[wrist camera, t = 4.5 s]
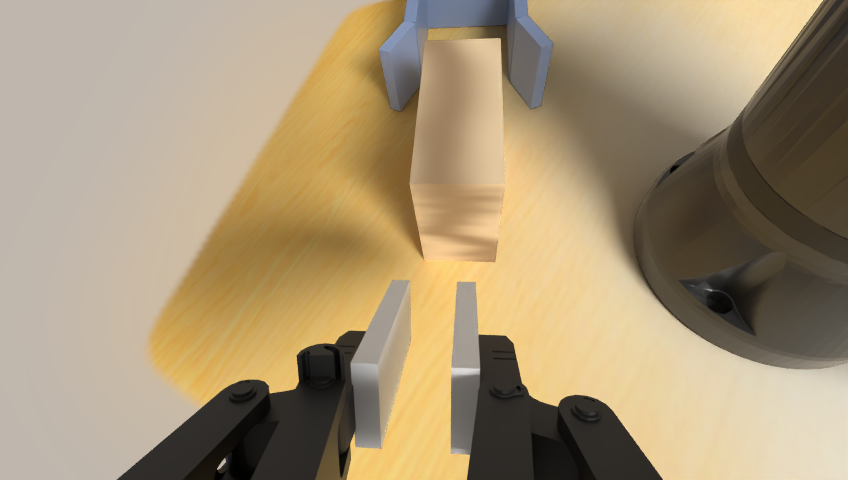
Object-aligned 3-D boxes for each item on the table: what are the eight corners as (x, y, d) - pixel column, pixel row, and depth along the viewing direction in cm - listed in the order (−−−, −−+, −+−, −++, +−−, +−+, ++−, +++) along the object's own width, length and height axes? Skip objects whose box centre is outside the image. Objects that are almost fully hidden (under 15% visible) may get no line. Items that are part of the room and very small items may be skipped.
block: (493, 135, 35) (500, 37, 27) (495, 262, 29) (505, 183, 21) (434, 136, 36) (425, 40, 28) (424, 260, 30) (409, 183, 22)
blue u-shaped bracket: (532, 18, 42) (541, -47, 37) (541, 109, 36) (553, 46, 31) (404, 23, 44) (395, -38, 39) (390, 111, 37) (378, 52, 32)
